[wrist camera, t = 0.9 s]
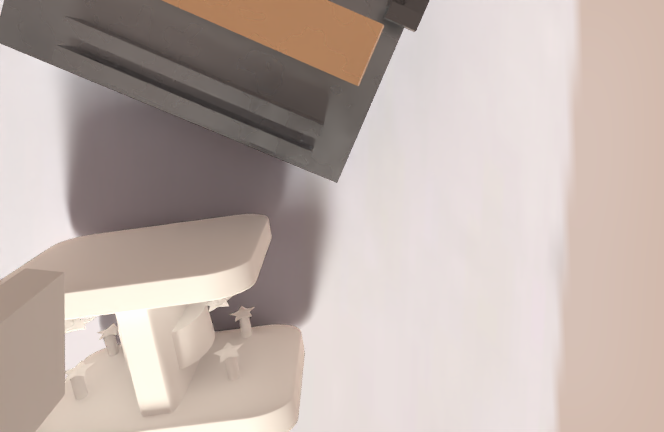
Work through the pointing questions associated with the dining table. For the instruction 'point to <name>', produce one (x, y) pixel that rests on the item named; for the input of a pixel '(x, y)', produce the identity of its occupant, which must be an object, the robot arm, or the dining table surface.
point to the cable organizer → (173, 332)
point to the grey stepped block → (213, 71)
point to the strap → (299, 30)
